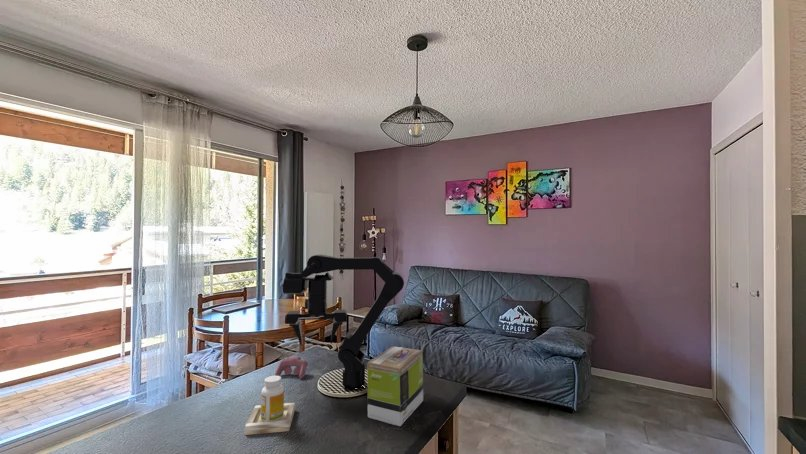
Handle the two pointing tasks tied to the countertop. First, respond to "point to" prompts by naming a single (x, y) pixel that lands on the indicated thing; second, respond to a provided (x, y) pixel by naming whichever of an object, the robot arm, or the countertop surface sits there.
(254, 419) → the recess plate
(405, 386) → the tea box
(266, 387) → the supplement bottle
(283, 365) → the pink legged piece
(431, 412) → the countertop surface
